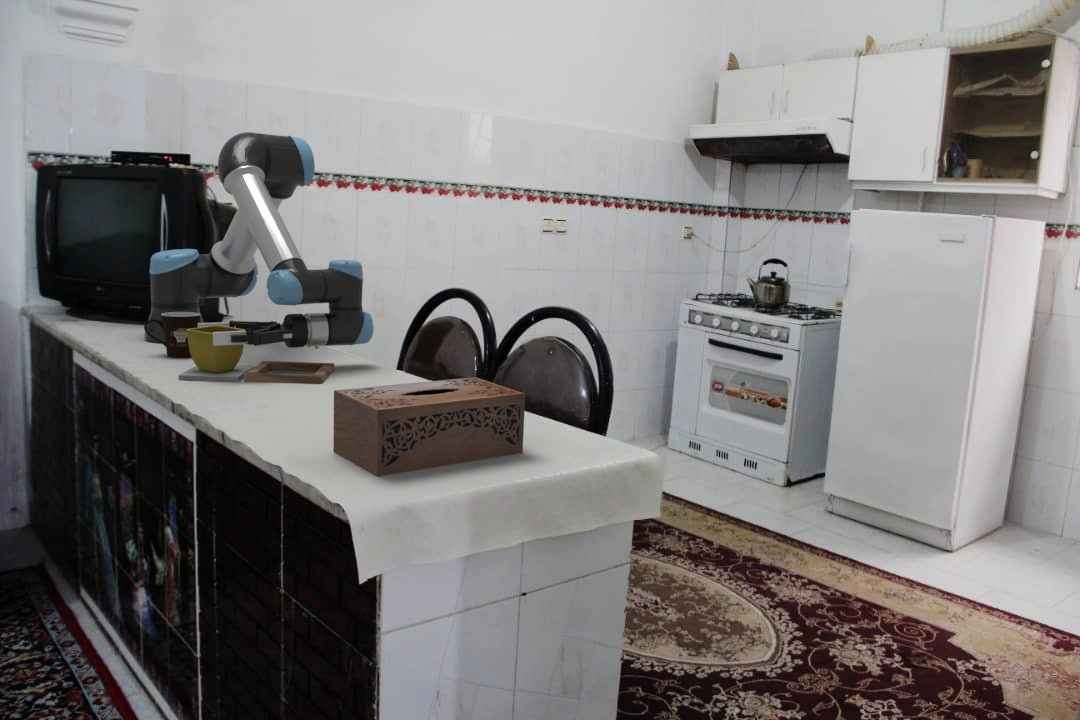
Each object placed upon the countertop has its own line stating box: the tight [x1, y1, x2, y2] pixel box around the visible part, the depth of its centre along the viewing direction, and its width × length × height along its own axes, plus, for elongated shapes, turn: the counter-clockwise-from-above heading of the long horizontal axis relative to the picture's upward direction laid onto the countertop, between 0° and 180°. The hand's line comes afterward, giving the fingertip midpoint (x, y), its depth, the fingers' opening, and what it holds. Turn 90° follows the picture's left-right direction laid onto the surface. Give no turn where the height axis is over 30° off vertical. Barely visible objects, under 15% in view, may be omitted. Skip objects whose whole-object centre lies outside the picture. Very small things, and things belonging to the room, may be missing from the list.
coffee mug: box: [143, 312, 202, 359], centre depth 210 cm, size 12×9×10 cm
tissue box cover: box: [333, 376, 526, 477], centre depth 139 cm, size 26×14×10 cm, turn 127°
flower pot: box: [186, 325, 246, 373], centre depth 190 cm, size 9×9×9 cm
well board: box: [243, 360, 335, 385], centre depth 194 cm, size 16×16×2 cm
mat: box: [178, 365, 254, 383], centre depth 190 cm, size 12×12×1 cm
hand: (205, 334), depth 187 cm, fingers open, 13 cm apart
